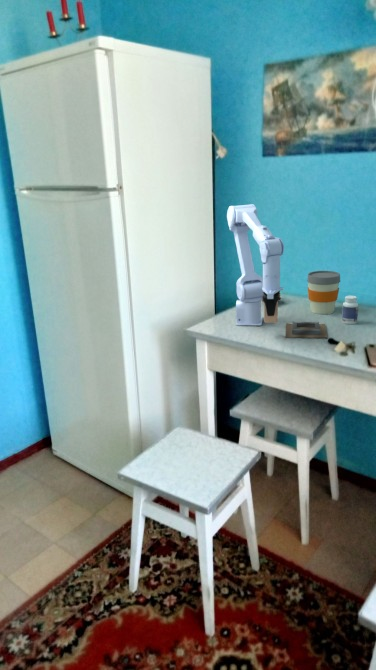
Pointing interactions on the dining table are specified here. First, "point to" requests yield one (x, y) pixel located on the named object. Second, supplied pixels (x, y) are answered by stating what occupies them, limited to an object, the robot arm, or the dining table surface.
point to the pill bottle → (350, 310)
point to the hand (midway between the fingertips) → (271, 313)
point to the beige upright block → (271, 318)
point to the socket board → (306, 330)
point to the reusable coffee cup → (323, 291)
